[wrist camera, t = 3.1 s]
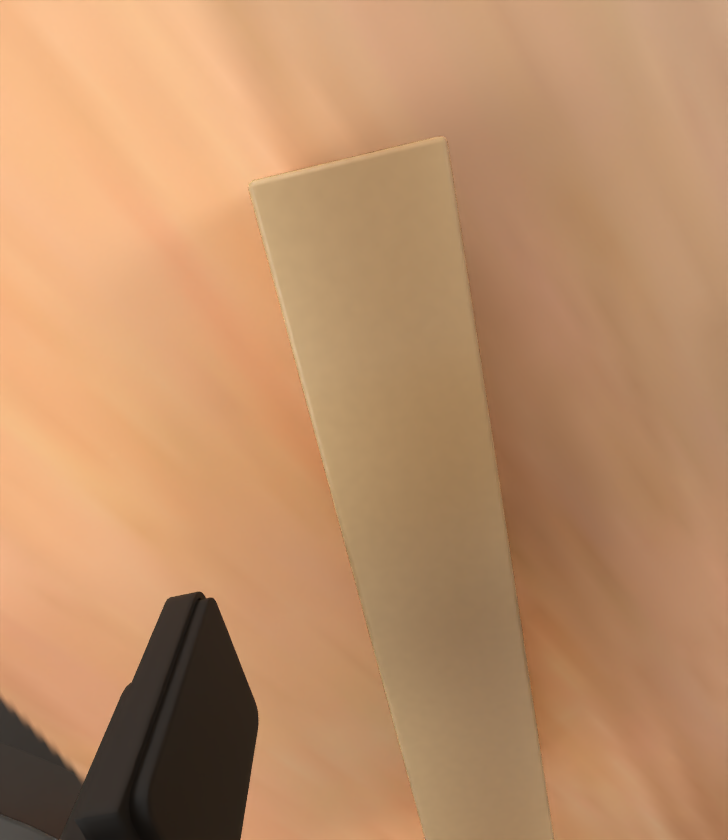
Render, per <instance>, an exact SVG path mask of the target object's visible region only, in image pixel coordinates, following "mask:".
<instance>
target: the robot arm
mask: <svg viewBox="0 0 728 840" xmlns="http://www.w3.org/2000/svg"><path fill="white" fill-rule="evenodd" d="M257 731H258V710H257V706H256V703H255V700H254V697H253V695H252V692H251V690H250V687H249V685H248V682H247V680H246V677H245V674H244V672H243V669H242V667H241V664H240V662H239V659H238V656H237V654H236V651H235V649H234V646H233V644H232V641H231V639H230V636H229V633H228V631H227V628H226V626H225V623H224V621H223V618H222V615H221V613H220V610H219V608H218V605H217V603H216V601H215V600H214V598H207V599H206V597H205V596H204V594H203V593H202V592H195V593H190V594H185V595H180V596H175V597H170V598H169V599H167V601H166V603H165V605H164V607H163V609H162V612H161V614H160V617H159V619H158V621H157V624H156V626H155V628H154V631H153V633H152V636H151V638H150V640H149V643H148V645H147V647H146V650H145V652H144V655H143V657H142V659H141V662H140V664H139V667H138V669H137V671H136V674H135V676H134V678H133V681H132V682H131V683H130V684H129V685H128V686H126V688H125V690H124V691H123V693H122V695H121V697H120V700H119V702H118V704H117V707H116V709H115V711H114V714H113V716H112V718H111V721H110V723H109V725H108V728H107V730H106V732H105V734H104V737H103V739H102V741H101V744H100V746H99V748H98V751H97V753H96V755H95V758H94V760H93V762H92V765H91V767H90V769H89V772H88V774H87V776H86V779H85V781H84V783H83V786H82V788H81V790H80V793H79V795H78V797H77V800H76V802H75V804H74V807H73V809H72V811H71V814H70V816H69V818H68V821H67V823H66V825H65V828H64V830H63V832H62V834H61V837H60V839H59V840H240V839H241V832H242V826H243V820H244V813H245V807H246V801H247V794H248V788H249V782H250V775H251V769H252V763H253V756H254V750H255V744H256V737H257Z"/></svg>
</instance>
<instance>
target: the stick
mask: <svg viewBox="0 0 728 840" xmlns="http://www.w3.org/2000/svg"><path fill="white" fill-rule="evenodd" d="M248 190H249V194H250V197H251V201H252V205H253V208H254V212H255V216H256V219H257V223H258V227H259V230H260V234H261V238H262V241H263V245H264V249H265V252H266V256H267V260H268V264H269V267H270V271H271V275H272V278H273V282H274V286H275V289H276V293H277V297H278V300H279V304H280V308H281V311H282V315H283V319H284V322H285V326H286V330H287V333H288V337H289V341H290V344H291V348H292V352H293V356H294V359H295V363H296V367H297V370H298V374H299V378H300V381H301V385H302V389H303V392H304V396H305V400H306V403H307V407H308V411H309V414H310V418H311V422H312V425H313V429H314V433H315V436H316V440H317V444H318V448H319V451H320V455H321V459H322V462H323V466H324V470H325V473H326V477H327V481H328V484H329V488H330V492H331V495H332V499H333V503H334V506H335V510H336V514H337V517H338V521H339V525H340V528H341V532H342V536H343V539H344V543H345V547H346V551H347V554H348V558H349V562H350V565H351V569H352V573H353V576H354V580H355V584H356V587H357V591H358V595H359V598H360V602H361V606H362V609H363V613H364V617H365V620H366V624H367V628H368V631H369V635H370V639H371V643H372V646H373V650H374V654H375V657H376V661H377V665H378V668H379V672H380V676H381V679H382V683H383V687H384V690H385V694H386V698H387V701H388V705H389V709H390V712H391V716H392V720H393V723H394V727H395V731H396V735H397V738H398V742H399V746H400V749H401V753H402V757H403V760H404V764H405V768H406V771H407V775H408V779H409V782H410V786H411V790H412V793H413V797H414V801H415V804H416V808H417V812H418V815H419V819H420V823H421V827H422V830H423V834H424V838H425V840H554V835H553V828H552V822H551V815H550V808H549V802H548V795H547V789H546V782H545V776H544V769H543V763H542V756H541V750H540V743H539V737H538V730H537V723H536V717H535V710H534V704H533V697H532V691H531V684H530V678H529V671H528V665H527V658H526V652H525V645H524V638H523V632H522V625H521V619H520V612H519V606H518V599H517V593H516V586H515V580H514V573H513V566H512V560H511V553H510V547H509V540H508V534H507V527H506V521H505V514H504V508H503V501H502V495H501V488H500V481H499V475H498V468H497V462H496V455H495V449H494V442H493V436H492V429H491V423H490V416H489V410H488V403H487V396H486V390H485V383H484V377H483V370H482V364H481V357H480V351H479V344H478V338H477V331H476V325H475V318H474V311H473V305H472V298H471V292H470V285H469V279H468V272H467V266H466V259H465V253H464V246H463V240H462V233H461V226H460V220H459V213H458V207H457V200H456V194H455V187H454V181H453V174H452V168H451V161H450V155H449V148H448V142H447V140H446V138H445V137H442V136H438V137H433V138H429V139H425V140H421V141H417V142H412V143H408V144H404V145H400V146H396V147H391V148H387V149H383V150H379V151H375V152H370V153H366V154H362V155H358V156H354V157H349V158H345V159H341V160H337V161H333V162H328V163H324V164H320V165H316V166H312V167H307V168H303V169H299V170H295V171H291V172H286V173H282V174H278V175H274V176H270V177H265V178H261V179H257V180H253V181H252V182H250V183H249V187H248Z"/></svg>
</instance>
